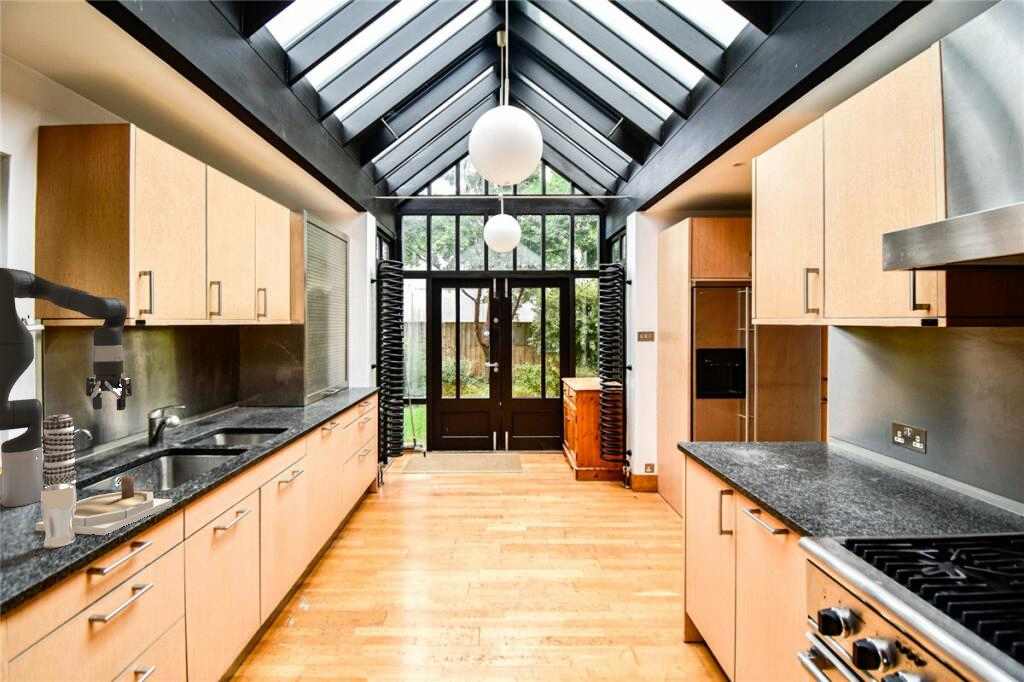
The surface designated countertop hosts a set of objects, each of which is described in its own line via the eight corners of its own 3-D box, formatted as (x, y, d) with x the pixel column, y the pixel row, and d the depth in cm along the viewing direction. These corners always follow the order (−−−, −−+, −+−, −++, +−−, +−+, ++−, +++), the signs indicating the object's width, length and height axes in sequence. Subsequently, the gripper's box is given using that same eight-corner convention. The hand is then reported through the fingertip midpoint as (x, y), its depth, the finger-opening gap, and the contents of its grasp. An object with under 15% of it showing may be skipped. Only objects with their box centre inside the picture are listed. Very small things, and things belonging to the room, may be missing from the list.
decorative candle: (84, 480, 177) (83, 413, 177) (57, 489, 168) (55, 418, 167) (63, 479, 179) (61, 412, 178) (35, 487, 169) (33, 417, 169)
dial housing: (35, 530, 134) (35, 515, 134) (111, 502, 156) (111, 488, 156) (104, 535, 131) (104, 519, 131) (172, 505, 153) (171, 492, 153)
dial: (106, 522, 134) (106, 495, 134) (52, 519, 136) (52, 493, 136) (158, 500, 151) (157, 477, 151) (109, 498, 153) (108, 475, 152)
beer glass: (57, 537, 129) (55, 482, 129) (84, 537, 130) (83, 482, 130) (33, 549, 122) (32, 491, 122) (63, 548, 123) (61, 490, 123)
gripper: (76, 360, 152) (78, 411, 152) (116, 360, 150) (117, 412, 150) (100, 358, 159) (101, 407, 160) (138, 359, 157) (139, 408, 158)
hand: (109, 409), depth 155 cm, fingers open, 8 cm apart
